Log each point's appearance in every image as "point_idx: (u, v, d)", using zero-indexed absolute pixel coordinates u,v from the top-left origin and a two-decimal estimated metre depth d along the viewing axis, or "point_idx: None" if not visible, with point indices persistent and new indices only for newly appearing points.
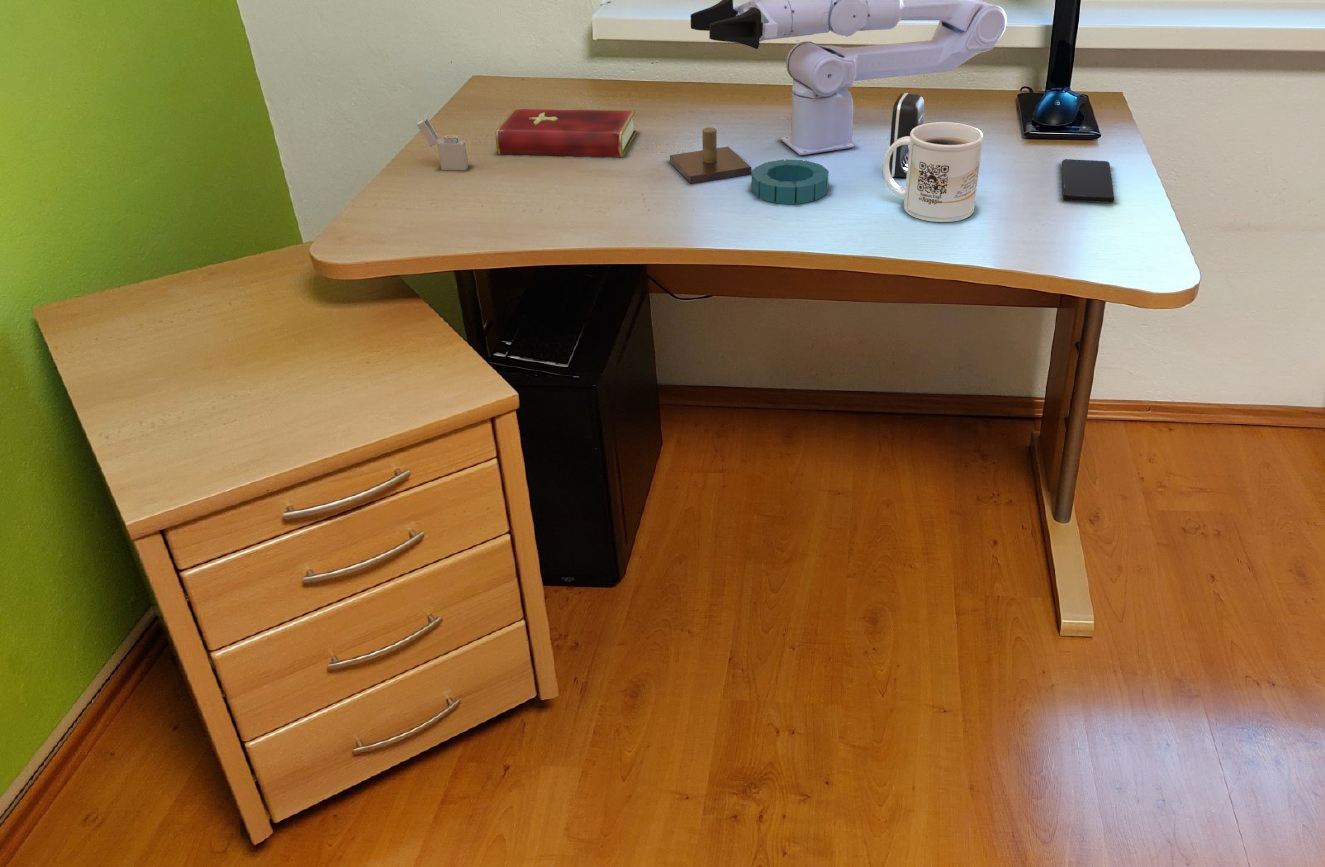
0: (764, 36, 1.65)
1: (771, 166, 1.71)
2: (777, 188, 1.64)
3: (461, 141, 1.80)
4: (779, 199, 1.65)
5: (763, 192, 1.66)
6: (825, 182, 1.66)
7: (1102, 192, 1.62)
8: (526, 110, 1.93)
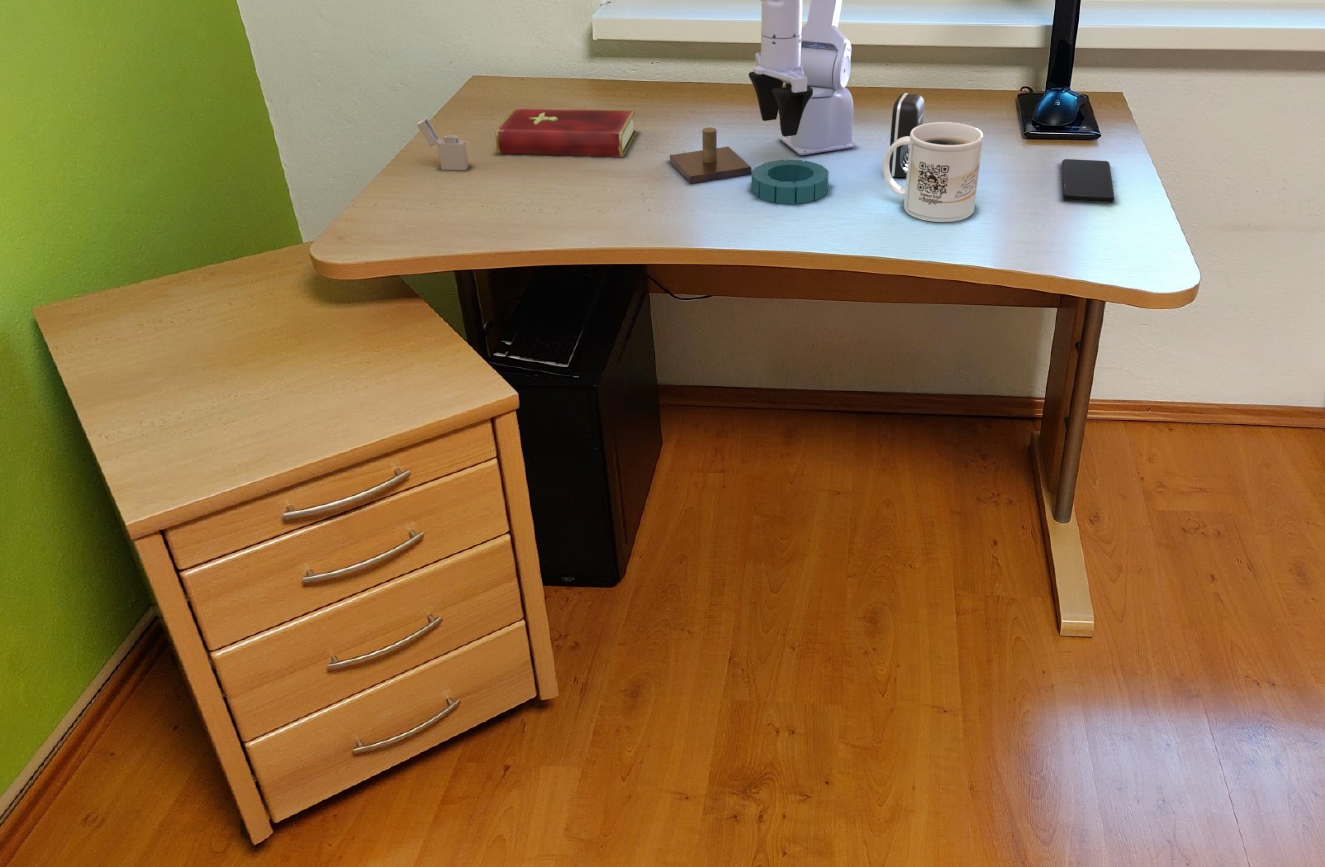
0: (804, 90, 1.60)
1: (771, 166, 1.71)
2: (777, 188, 1.64)
3: (461, 141, 1.80)
4: (779, 199, 1.65)
5: (763, 192, 1.66)
6: (825, 182, 1.66)
7: (1102, 192, 1.62)
8: (526, 110, 1.93)
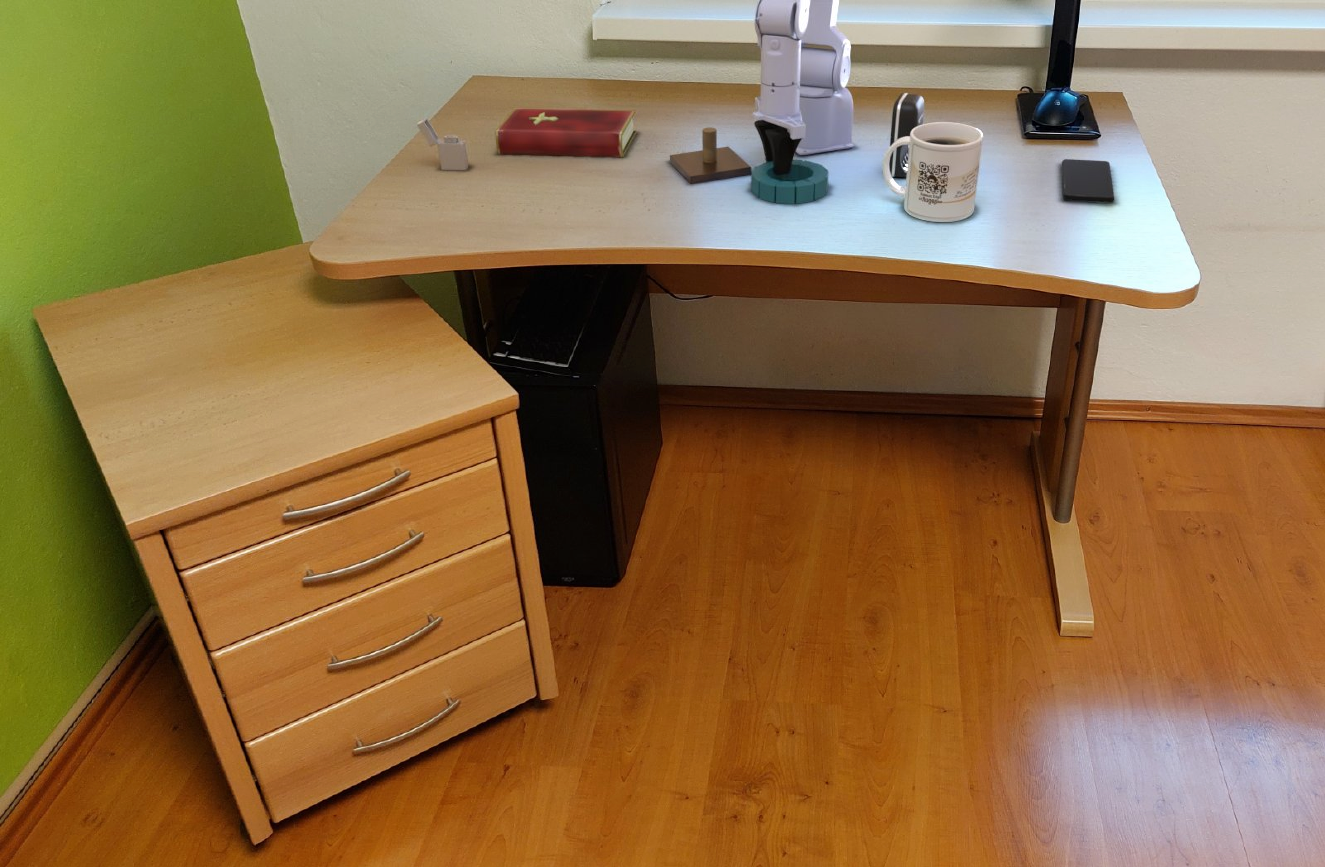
0: None
1: (771, 166, 1.71)
2: (777, 188, 1.64)
3: (461, 141, 1.80)
4: (779, 199, 1.65)
5: (763, 192, 1.66)
6: (825, 182, 1.66)
7: (1102, 192, 1.62)
8: (526, 110, 1.93)
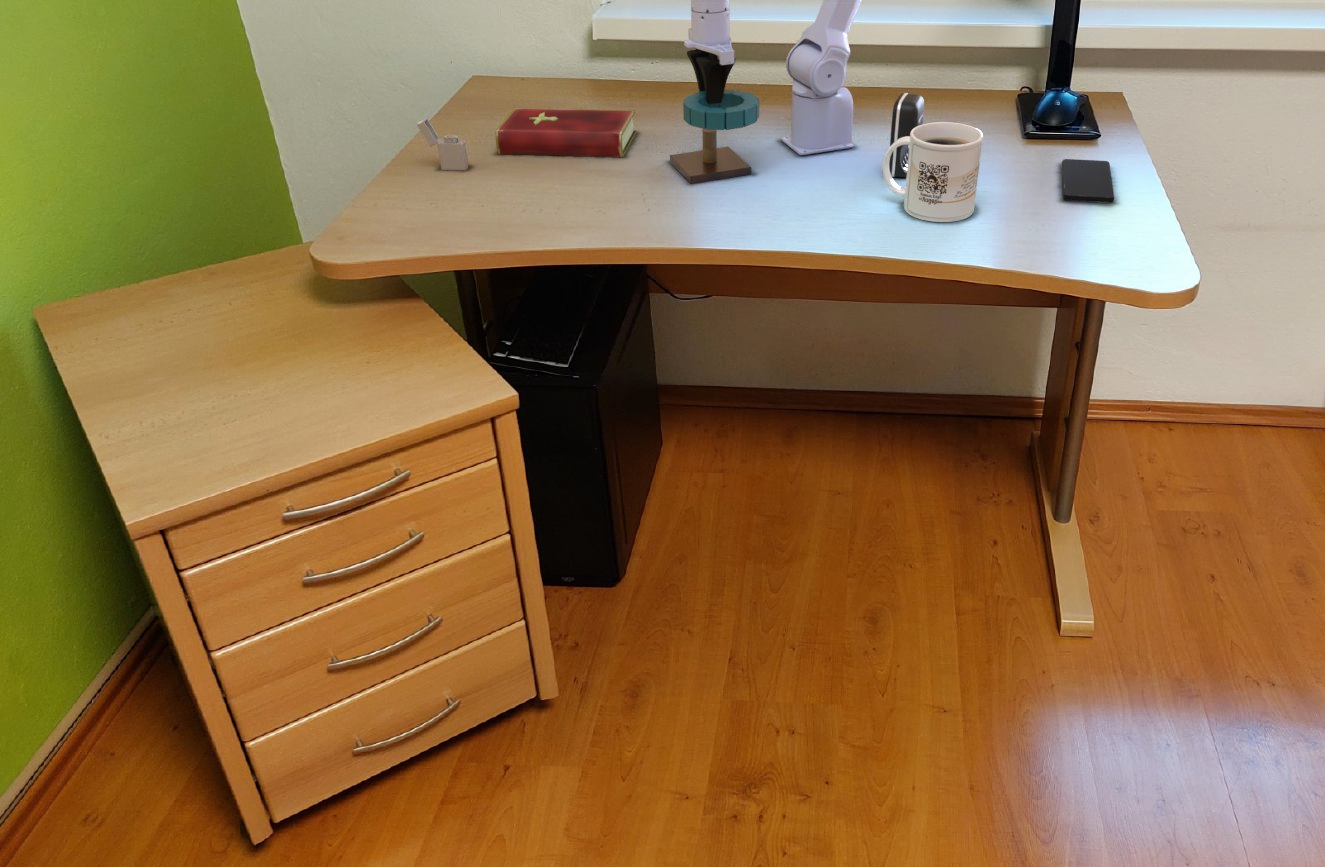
0: None
1: (703, 95, 1.73)
2: (707, 114, 1.67)
3: (461, 141, 1.80)
4: (709, 125, 1.68)
5: (694, 119, 1.69)
6: (755, 109, 1.69)
7: (1102, 192, 1.62)
8: (526, 110, 1.93)
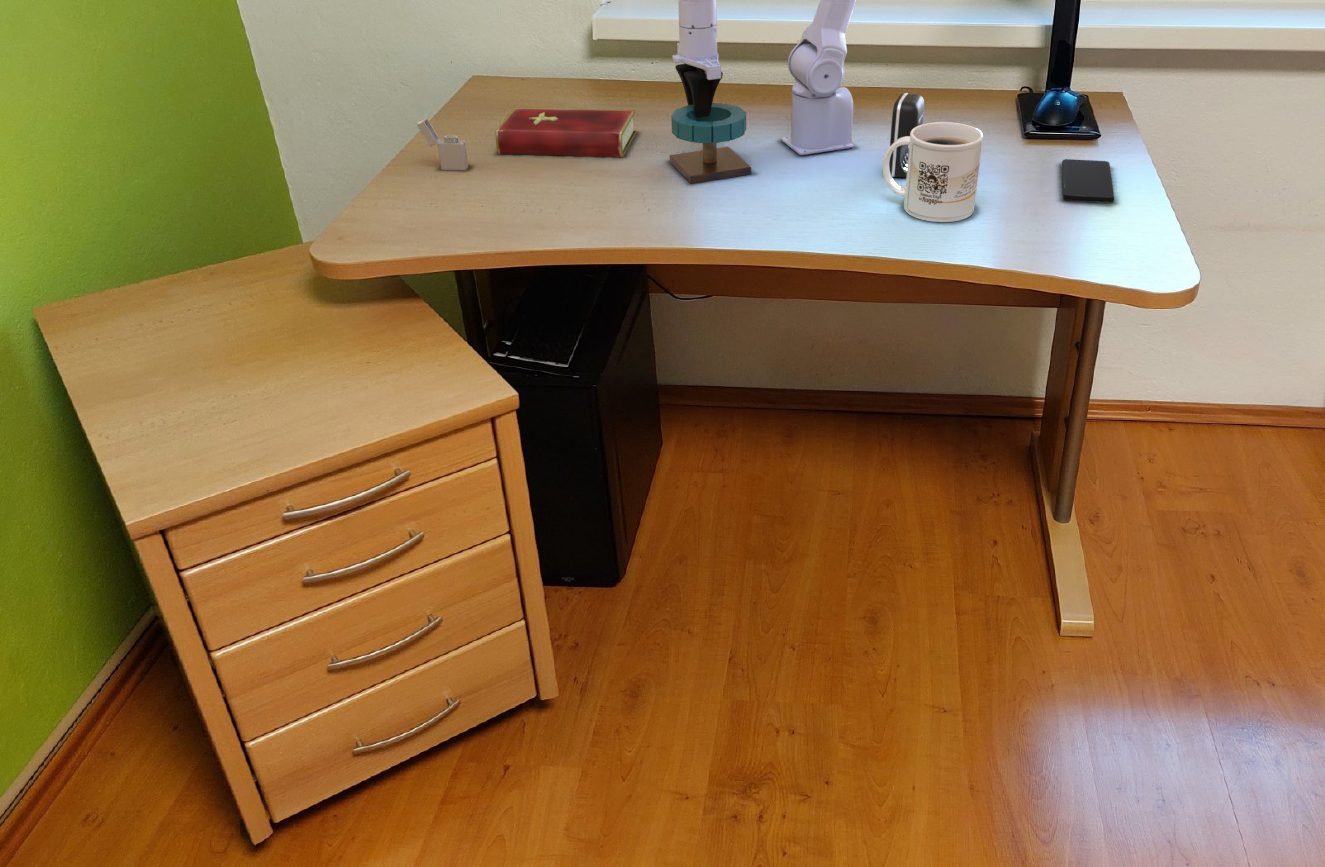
0: None
1: (692, 108, 1.76)
2: (694, 127, 1.69)
3: (461, 141, 1.80)
4: (696, 138, 1.70)
5: (681, 132, 1.71)
6: (742, 122, 1.72)
7: (1102, 192, 1.62)
8: (526, 110, 1.93)
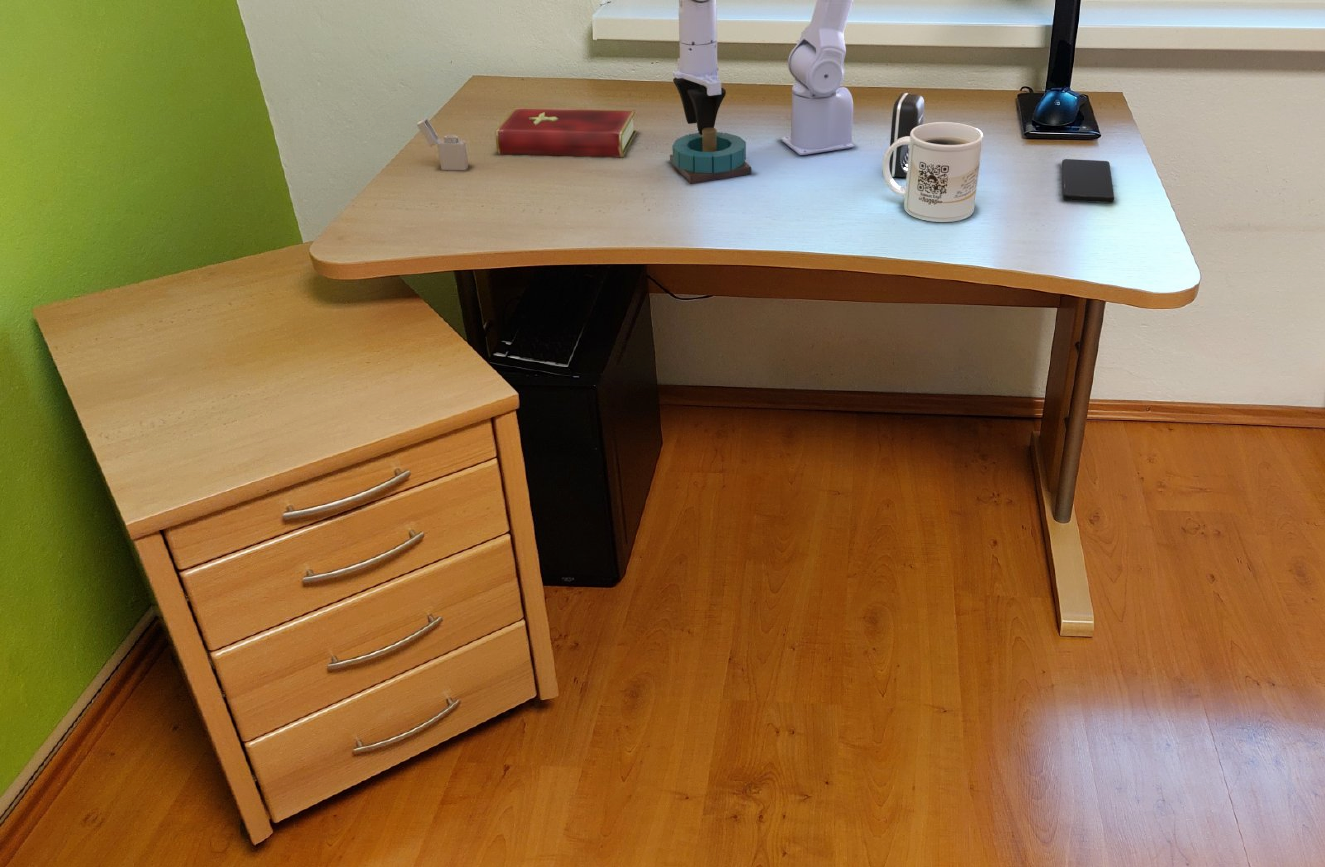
0: None
1: (692, 138, 1.79)
2: (695, 158, 1.72)
3: (461, 141, 1.80)
4: (697, 168, 1.73)
5: (682, 162, 1.74)
6: (741, 152, 1.74)
7: (1102, 192, 1.62)
8: (526, 110, 1.93)
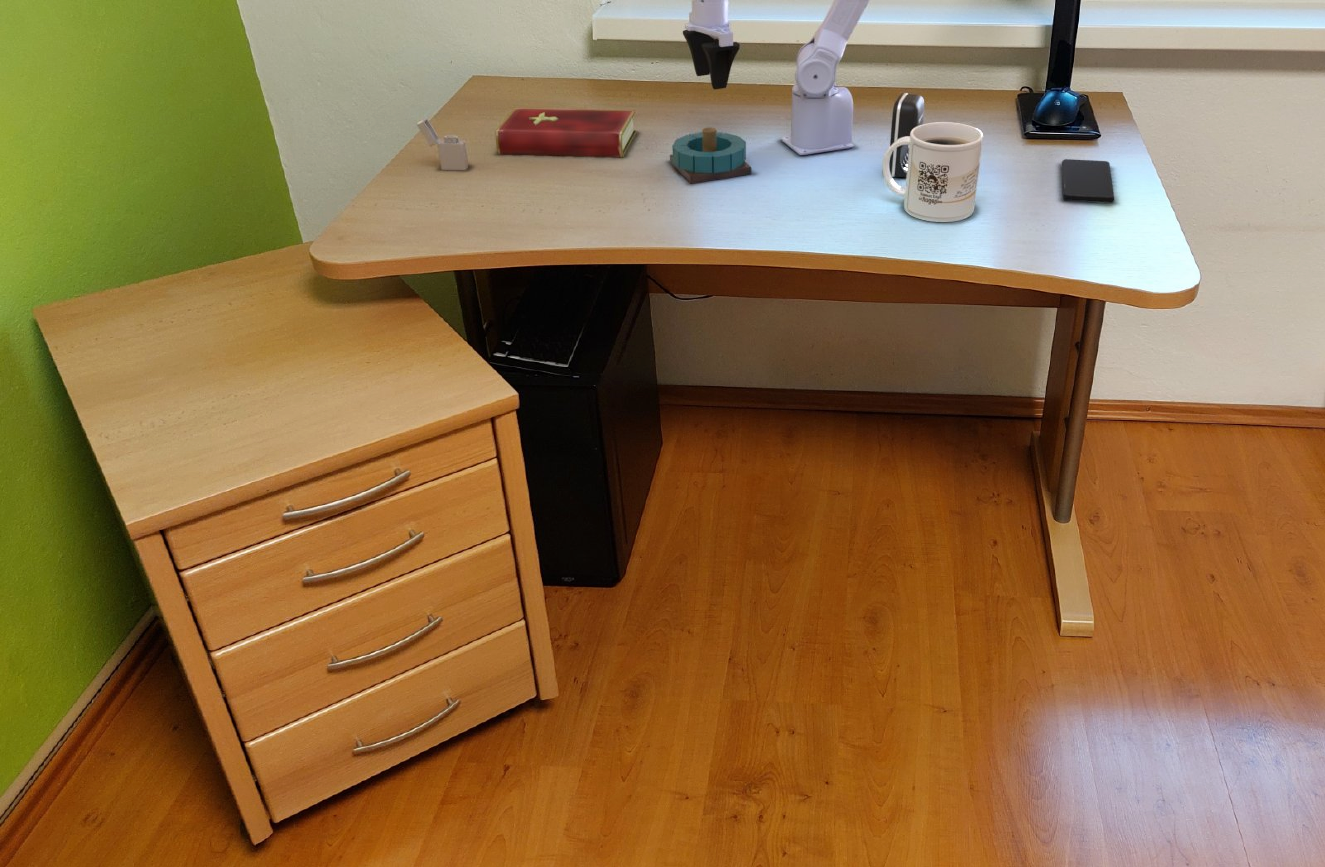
0: None
1: (692, 138, 1.79)
2: (695, 158, 1.72)
3: (461, 141, 1.80)
4: (697, 168, 1.73)
5: (682, 162, 1.74)
6: (741, 152, 1.74)
7: (1102, 192, 1.62)
8: (526, 110, 1.93)
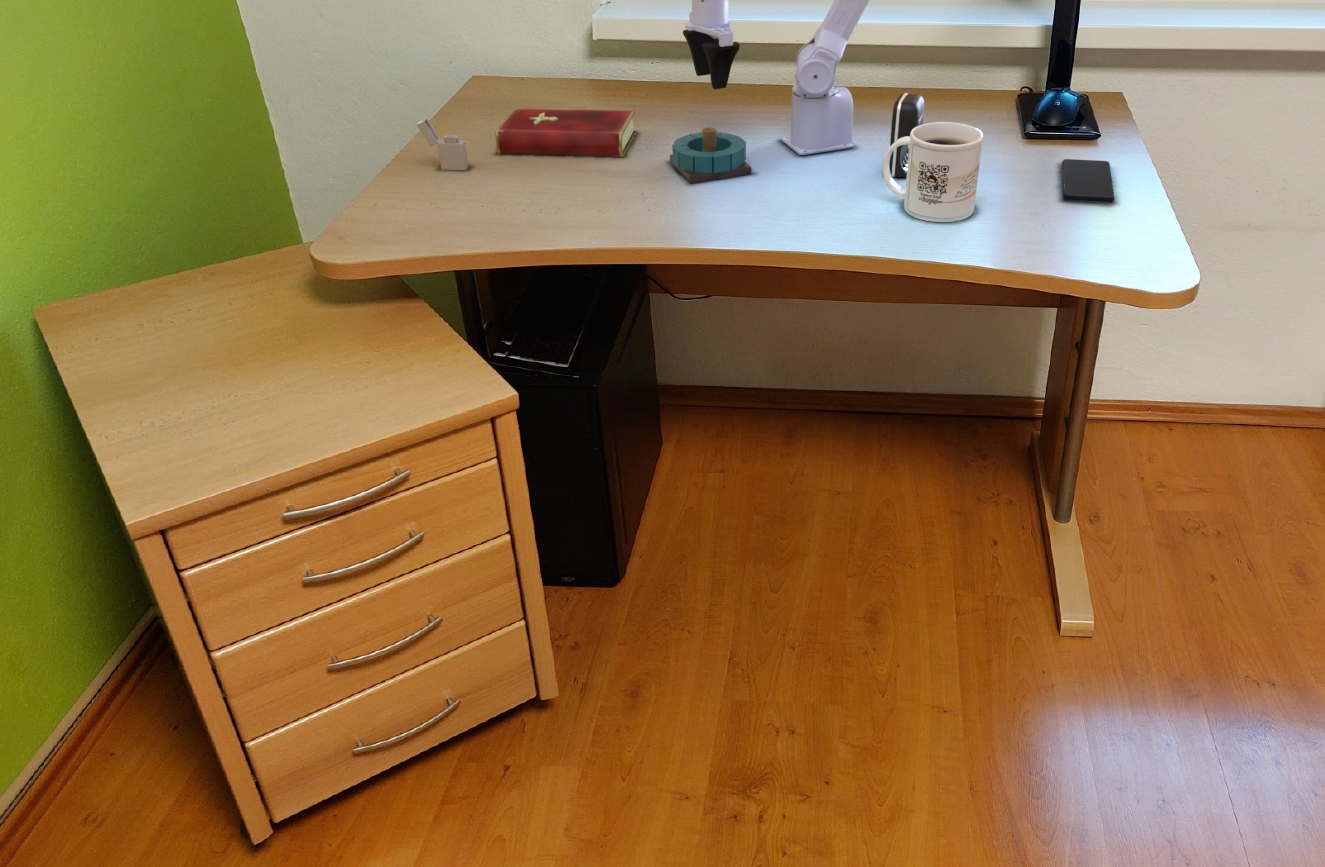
0: None
1: (692, 138, 1.79)
2: (695, 158, 1.72)
3: (461, 141, 1.80)
4: (697, 168, 1.73)
5: (682, 162, 1.74)
6: (741, 152, 1.74)
7: (1102, 192, 1.62)
8: (526, 110, 1.93)
